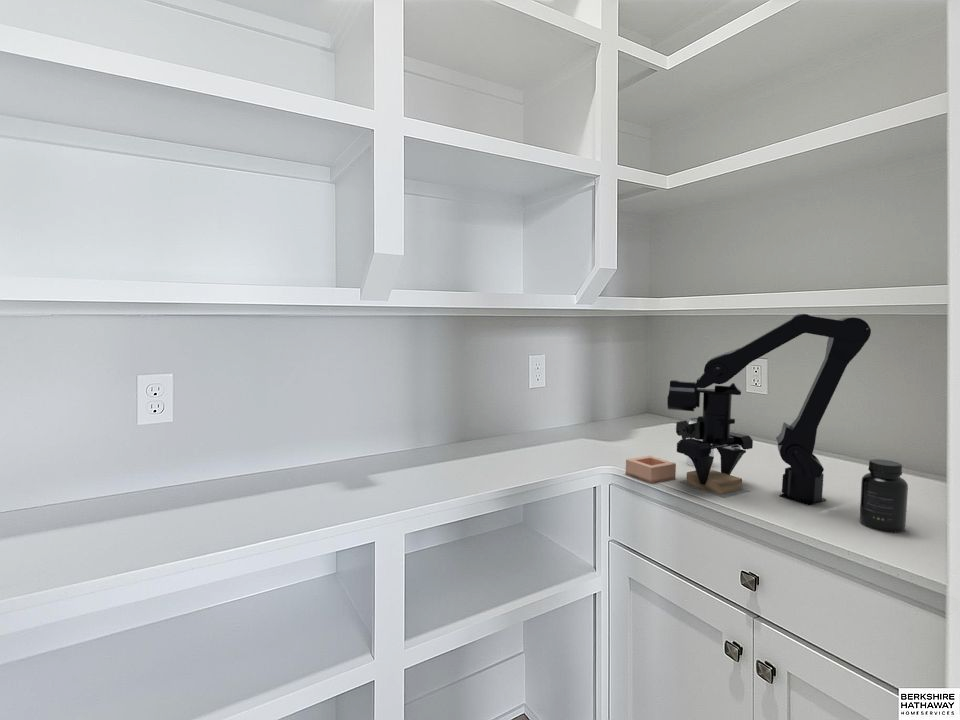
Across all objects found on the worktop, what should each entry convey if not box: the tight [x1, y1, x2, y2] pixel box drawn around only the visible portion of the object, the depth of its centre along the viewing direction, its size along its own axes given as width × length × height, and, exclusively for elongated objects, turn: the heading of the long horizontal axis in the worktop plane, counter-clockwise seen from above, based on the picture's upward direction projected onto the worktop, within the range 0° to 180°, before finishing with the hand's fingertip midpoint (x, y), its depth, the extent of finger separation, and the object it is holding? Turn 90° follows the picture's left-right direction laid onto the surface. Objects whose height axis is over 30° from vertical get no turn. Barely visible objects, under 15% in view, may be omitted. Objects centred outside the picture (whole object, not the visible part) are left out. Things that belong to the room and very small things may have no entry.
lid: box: [685, 469, 743, 495], centre depth 118 cm, size 9×7×2 cm
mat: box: [678, 479, 751, 499], centre depth 118 cm, size 12×9×1 cm
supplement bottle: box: [859, 458, 909, 533], centre depth 97 cm, size 7×7×12 cm
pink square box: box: [625, 455, 677, 485], centre depth 125 cm, size 8×8×4 cm
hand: (713, 481), depth 118 cm, fingers closed on lid, 7 cm apart
